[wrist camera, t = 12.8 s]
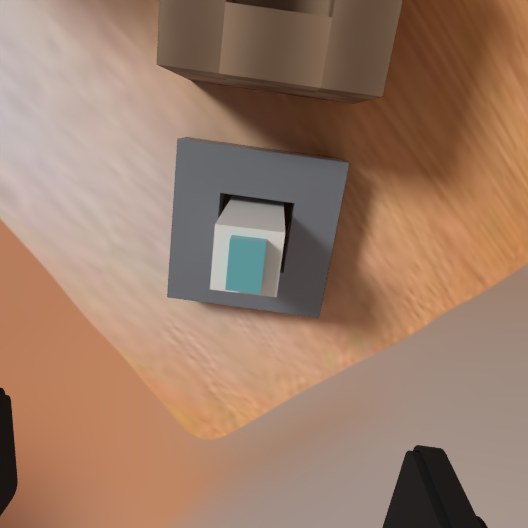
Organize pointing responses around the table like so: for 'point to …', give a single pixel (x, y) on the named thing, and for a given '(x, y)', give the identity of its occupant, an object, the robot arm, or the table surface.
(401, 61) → the table surface
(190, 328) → the table surface
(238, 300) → the lower socket plate
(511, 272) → the table surface
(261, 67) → the upper socket tower
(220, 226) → the plug peg
